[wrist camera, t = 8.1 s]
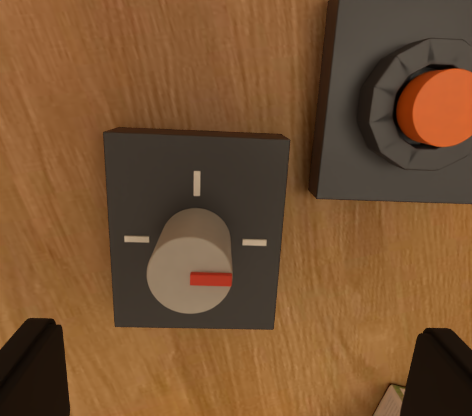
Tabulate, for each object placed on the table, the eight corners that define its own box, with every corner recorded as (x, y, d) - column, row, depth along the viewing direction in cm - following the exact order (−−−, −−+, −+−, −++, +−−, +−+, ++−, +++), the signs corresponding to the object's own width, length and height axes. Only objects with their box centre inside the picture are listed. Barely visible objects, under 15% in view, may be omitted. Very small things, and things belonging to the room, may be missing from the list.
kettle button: (402, 68, 18) (420, 66, 17) (471, 72, 19) (496, 70, 17) (390, 141, 19) (405, 145, 18) (456, 144, 20) (478, 148, 18)
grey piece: (328, 0, 21) (352, -22, 17) (499, 10, 21) (560, -8, 17) (308, 189, 24) (324, 208, 20) (457, 195, 24) (501, 213, 21)
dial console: (118, 127, 22) (101, 132, 19) (281, 134, 23) (291, 139, 20) (126, 301, 26) (113, 328, 23) (268, 304, 26) (274, 331, 23)
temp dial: (161, 270, 22) (145, 317, 17) (161, 206, 21) (143, 237, 16) (228, 272, 22) (230, 319, 17) (232, 209, 21) (235, 240, 16)
